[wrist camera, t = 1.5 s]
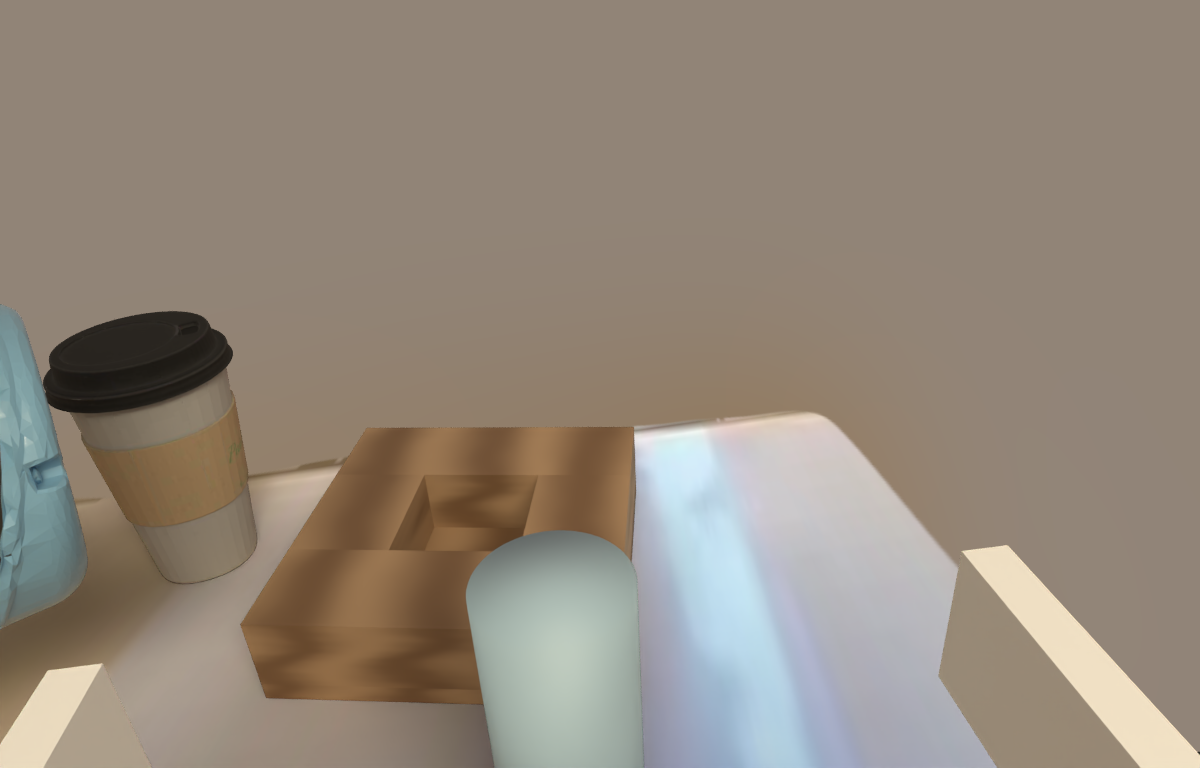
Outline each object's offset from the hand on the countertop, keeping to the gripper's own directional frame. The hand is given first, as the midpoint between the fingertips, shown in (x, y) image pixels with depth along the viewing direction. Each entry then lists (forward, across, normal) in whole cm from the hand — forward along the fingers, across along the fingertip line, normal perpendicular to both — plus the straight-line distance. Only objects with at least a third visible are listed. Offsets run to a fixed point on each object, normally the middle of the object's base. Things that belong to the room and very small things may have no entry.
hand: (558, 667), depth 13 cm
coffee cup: (+34, -22, -22) cm, 46 cm away
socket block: (+28, -4, -22) cm, 36 cm away
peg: (+9, 0, -22) cm, 24 cm away
